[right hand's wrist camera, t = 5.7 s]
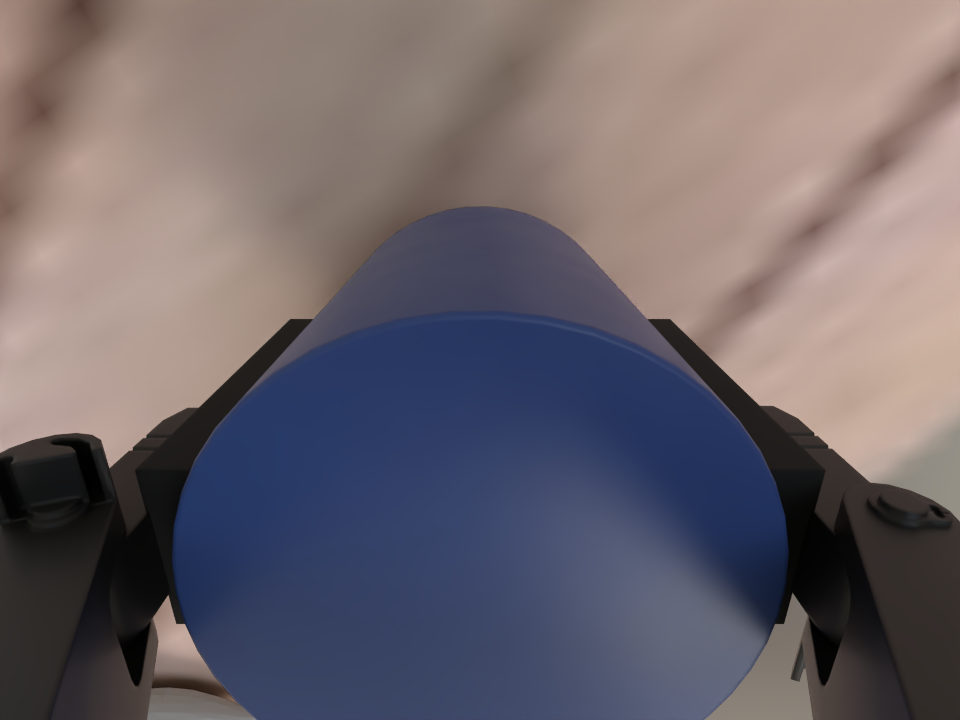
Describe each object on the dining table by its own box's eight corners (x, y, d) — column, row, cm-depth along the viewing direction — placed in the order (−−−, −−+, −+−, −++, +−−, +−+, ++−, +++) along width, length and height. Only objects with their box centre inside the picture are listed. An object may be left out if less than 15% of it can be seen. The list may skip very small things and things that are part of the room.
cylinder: (334, 198, 14) (111, 294, 5) (638, 213, 14) (877, 329, 6) (347, 462, 17) (213, 789, 8) (600, 471, 17) (719, 805, 8)
